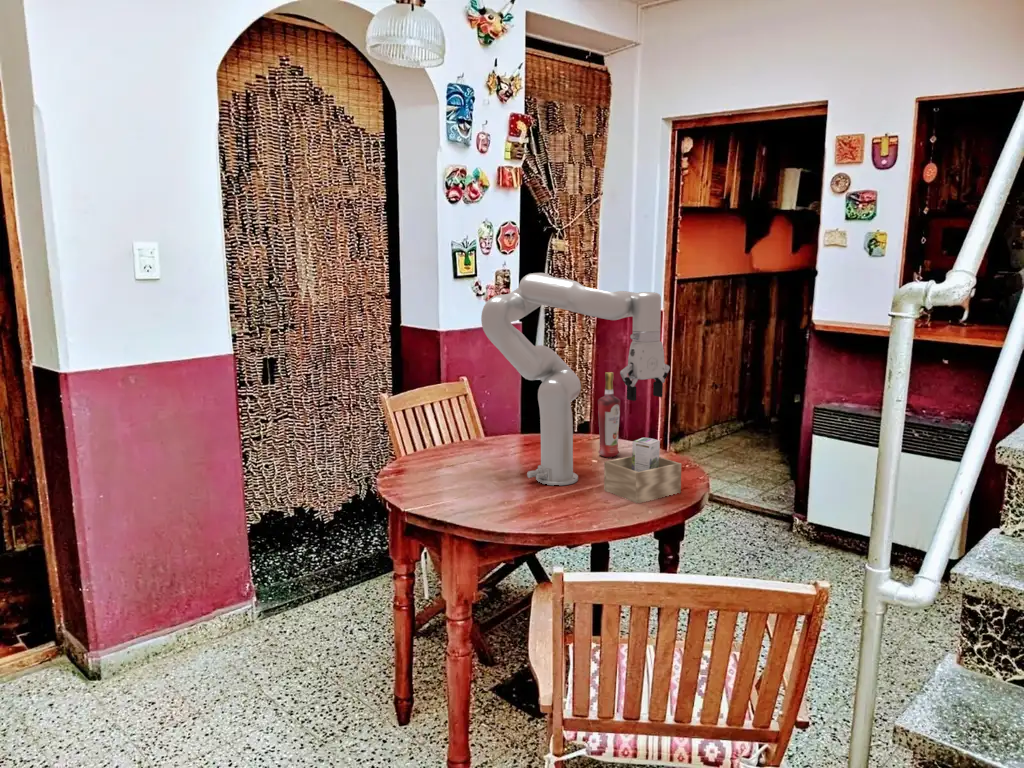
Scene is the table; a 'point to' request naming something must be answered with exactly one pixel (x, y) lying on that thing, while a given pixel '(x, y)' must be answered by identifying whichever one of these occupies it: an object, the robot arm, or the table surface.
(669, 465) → the box
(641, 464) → the syrup box
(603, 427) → the liquor
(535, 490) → the table surface
